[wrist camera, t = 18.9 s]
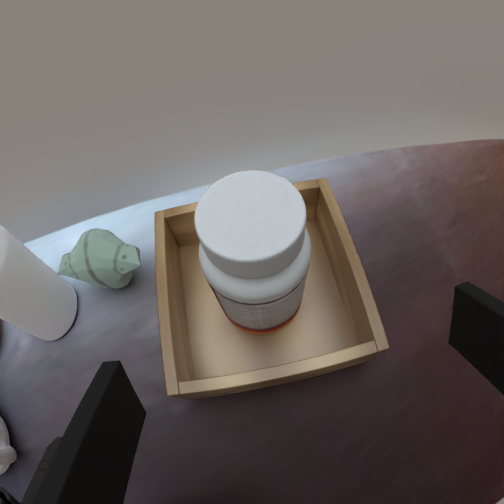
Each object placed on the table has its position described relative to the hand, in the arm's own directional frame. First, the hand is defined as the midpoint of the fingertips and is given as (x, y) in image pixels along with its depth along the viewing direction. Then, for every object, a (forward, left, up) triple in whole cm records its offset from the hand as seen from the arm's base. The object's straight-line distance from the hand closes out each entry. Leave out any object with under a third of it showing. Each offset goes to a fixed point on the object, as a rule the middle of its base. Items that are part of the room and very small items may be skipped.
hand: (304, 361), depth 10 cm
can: (+21, -10, -12) cm, 26 cm away
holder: (+1, -7, -12) cm, 14 cm away
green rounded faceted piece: (+13, -12, -12) cm, 21 cm away
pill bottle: (+1, -7, -12) cm, 14 cm away
